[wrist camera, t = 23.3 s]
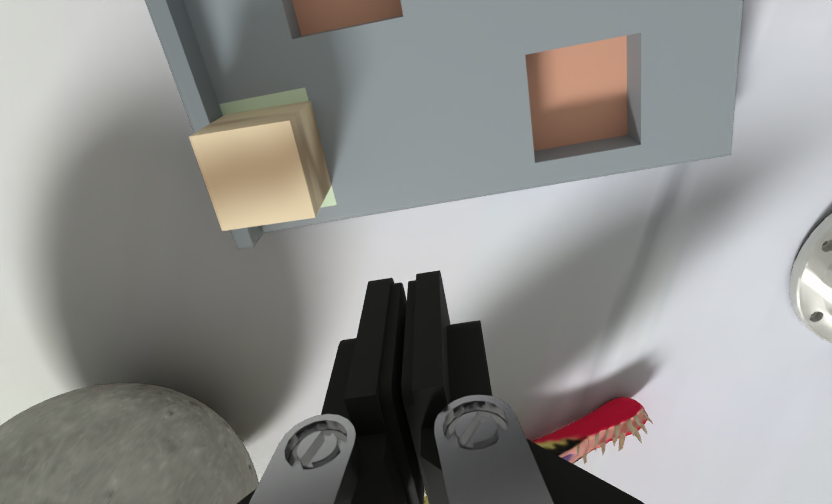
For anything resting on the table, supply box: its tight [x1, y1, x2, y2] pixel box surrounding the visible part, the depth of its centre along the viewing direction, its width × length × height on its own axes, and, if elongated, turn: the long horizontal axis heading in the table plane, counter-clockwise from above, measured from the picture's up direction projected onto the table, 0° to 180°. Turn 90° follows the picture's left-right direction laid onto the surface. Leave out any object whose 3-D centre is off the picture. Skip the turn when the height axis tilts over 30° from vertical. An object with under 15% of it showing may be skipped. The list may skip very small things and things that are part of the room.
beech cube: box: [189, 101, 331, 231], centre depth 28 cm, size 5×5×5 cm
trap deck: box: [145, 0, 743, 249], centre depth 28 cm, size 18×29×4 cm, turn 101°
